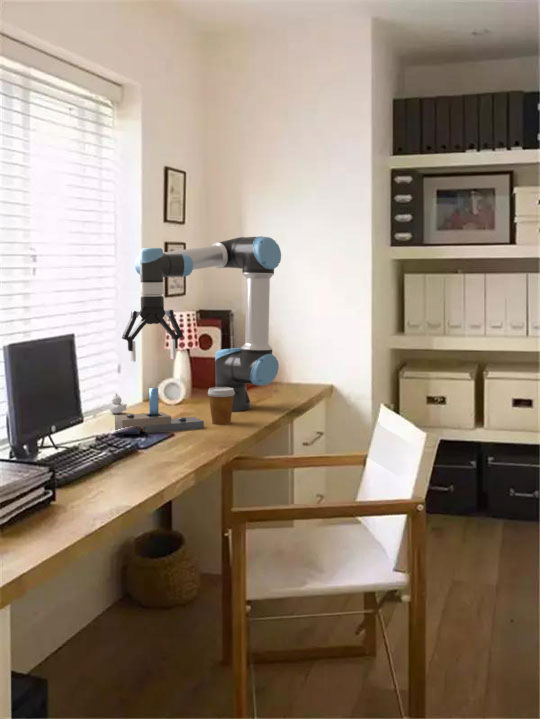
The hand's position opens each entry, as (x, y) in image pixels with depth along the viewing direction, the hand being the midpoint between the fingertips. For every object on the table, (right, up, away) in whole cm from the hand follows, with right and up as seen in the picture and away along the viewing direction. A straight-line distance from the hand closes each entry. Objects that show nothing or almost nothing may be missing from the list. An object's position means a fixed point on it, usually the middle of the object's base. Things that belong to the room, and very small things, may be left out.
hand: (153, 360), depth 288 cm
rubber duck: (-17, -20, +34) cm, 43 cm away
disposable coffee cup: (+22, -22, +15) cm, 34 cm away
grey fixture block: (+2, -23, +3) cm, 23 cm away
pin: (0, -23, +3) cm, 23 cm away
